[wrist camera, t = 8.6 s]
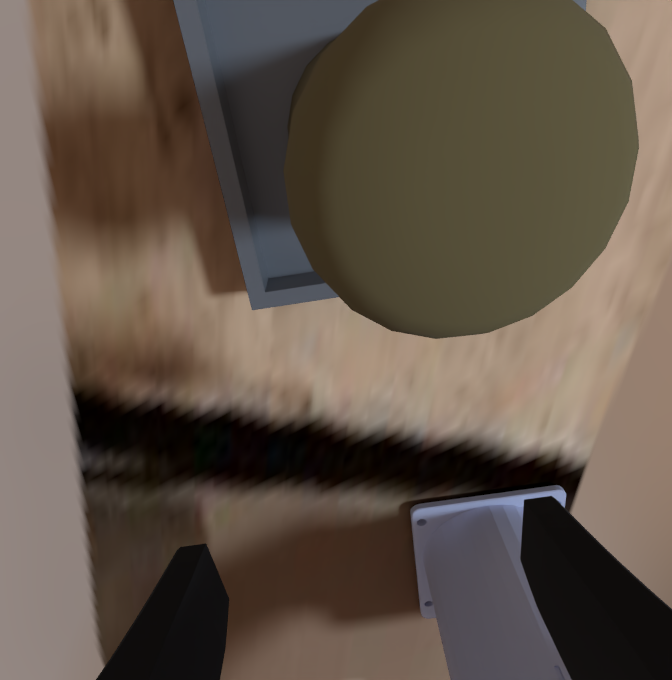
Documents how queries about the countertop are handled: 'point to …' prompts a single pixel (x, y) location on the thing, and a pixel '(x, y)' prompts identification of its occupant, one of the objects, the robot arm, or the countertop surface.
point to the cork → (460, 159)
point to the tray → (260, 123)
